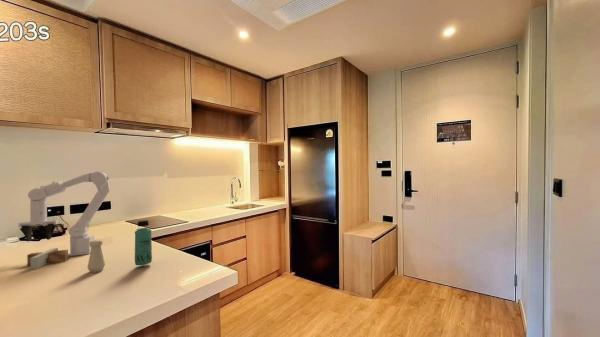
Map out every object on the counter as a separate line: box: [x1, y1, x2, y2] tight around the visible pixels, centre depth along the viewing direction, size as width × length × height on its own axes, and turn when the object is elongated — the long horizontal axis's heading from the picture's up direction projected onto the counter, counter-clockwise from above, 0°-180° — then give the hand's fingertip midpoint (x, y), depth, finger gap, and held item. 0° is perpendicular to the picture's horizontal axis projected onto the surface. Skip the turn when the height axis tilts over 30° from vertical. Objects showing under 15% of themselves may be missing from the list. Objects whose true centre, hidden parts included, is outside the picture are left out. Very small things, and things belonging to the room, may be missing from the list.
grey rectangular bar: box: [30, 247, 59, 270], centre depth 119 cm, size 15×2×5 cm, turn 18°
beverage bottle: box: [134, 219, 153, 266], centre depth 111 cm, size 6×7×20 cm
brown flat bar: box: [26, 249, 69, 267], centre depth 120 cm, size 14×2×5 cm, turn 108°
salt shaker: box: [87, 238, 106, 274], centre depth 107 cm, size 6×6×13 cm
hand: (39, 240), depth 126 cm, fingers open, 7 cm apart
